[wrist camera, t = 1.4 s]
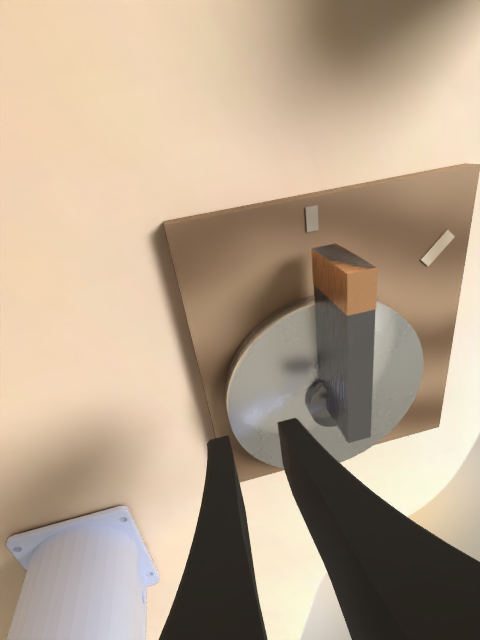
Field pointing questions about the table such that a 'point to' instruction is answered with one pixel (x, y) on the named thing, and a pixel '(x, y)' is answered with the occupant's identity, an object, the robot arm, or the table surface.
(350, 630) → the robot arm
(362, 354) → the dial
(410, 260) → the dial board
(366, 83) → the table surface
